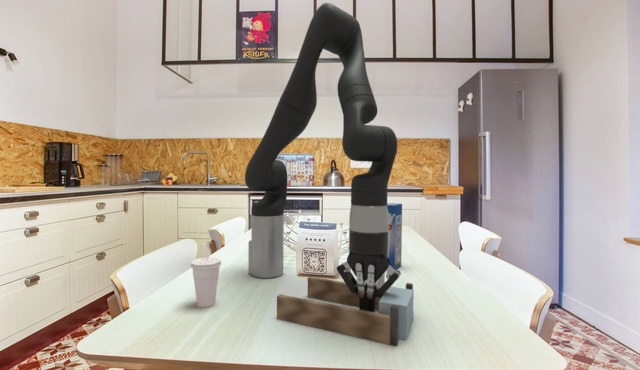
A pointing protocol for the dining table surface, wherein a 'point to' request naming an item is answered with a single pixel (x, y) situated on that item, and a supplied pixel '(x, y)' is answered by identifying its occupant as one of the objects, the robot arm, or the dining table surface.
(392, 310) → the chute
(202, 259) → the smoothie
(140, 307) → the dining table surface
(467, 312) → the dining table surface
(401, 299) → the slate block
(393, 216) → the milk carton
